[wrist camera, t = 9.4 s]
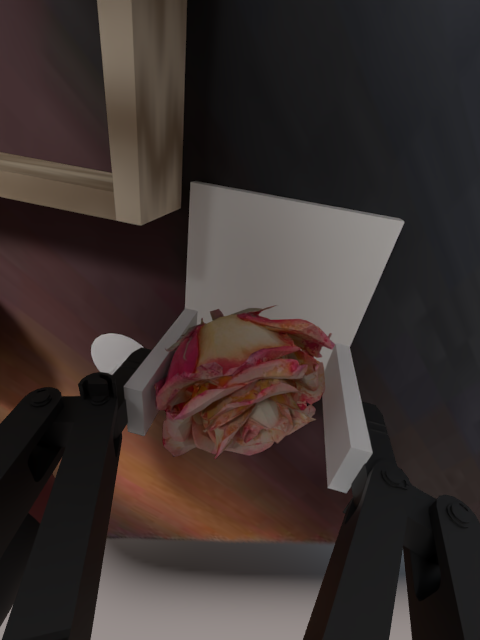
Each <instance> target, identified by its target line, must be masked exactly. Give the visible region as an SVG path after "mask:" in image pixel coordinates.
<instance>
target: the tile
mask: <svg viewBox="0 0 480 640" xmlns="http://www.w3.org/2000/svg"><path fill="white" fill-rule="evenodd" d="M403 224H404V221H403V220H401V219H400V218H394V217H389V216H383V215H378V214H372V213H367V212H362V211H356V210H351V209H345V208H340V207H334V206H329V205H324V204H318V203H313V202H307V201H302V200H296V199H291V198H286V197H280V196H275V195H269V194H264V193H258V192H253V191H248V190H242V189H237V188H231V187H226V186H220V185H215V184H210V183H204V182H199V181H193V182H190V205H189V227H188V250H187V273H186V295H185V308H186V309H191V310H195V311H198V316H197V325H199V324H201V318H203V322H204V323H206V324H207V323H209V322H211V321H213V320H212V317H211V314H210V311H213V310H217V309H219V310H220V311H221V312H222V313H223V315H224V316H228V315H231V314H233V313H236V312H239V311H242V310H245V309H248V308H262V309H264V308H267V307H271V306H274V307H272V308H270V309H267V310H264V311H261V313H259V316H262V317H266V318H268V319H270V320H280V319H303V320H307V321H309V322H311V323H313V324H315V326H318V327H319V328H320V329H321V330H322V331H323V332H324V333H325V334H326V335H327V336H329V333H332V335H331V337H330V340H331V341H332V342H333V343H334V344H335V343H338V344H342V345H346V346H351V343H352V341H353V339H354V337H355V334H356V332H357V330H358V327H359V325H360V323H361V321H362V318H363V316H364V314H365V311H366V309H367V307H368V304H369V302H370V300H371V298H372V295H373V293H374V291H375V288H376V286H377V284H378V282H379V279H380V277H381V275H382V272H383V270H384V268H385V266H386V263H387V261H388V259H389V256H390V254H391V252H392V250H393V247H394V245H395V243H396V240H397V238H398V236H399V234H400V231H401V229H402V227H403ZM275 305H277V306H275ZM300 350H301V349H300ZM332 351H333V350H331V349H329V348H326V347H324V346H323V347H322V348H321V351H320V354H321V355H322V357H320V358H316V357H315V356H314V358H315V359H316V360H317V361H319V362H323V367H324V371H325V368H326V366H327V363H328V361H329V358H330V356H331V353H332Z"/></svg>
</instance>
